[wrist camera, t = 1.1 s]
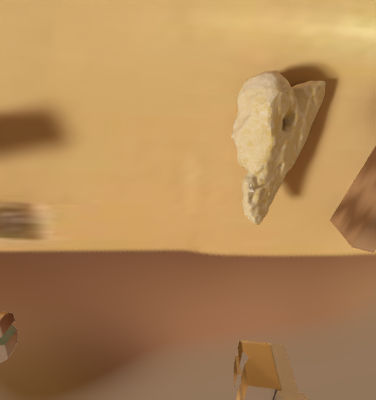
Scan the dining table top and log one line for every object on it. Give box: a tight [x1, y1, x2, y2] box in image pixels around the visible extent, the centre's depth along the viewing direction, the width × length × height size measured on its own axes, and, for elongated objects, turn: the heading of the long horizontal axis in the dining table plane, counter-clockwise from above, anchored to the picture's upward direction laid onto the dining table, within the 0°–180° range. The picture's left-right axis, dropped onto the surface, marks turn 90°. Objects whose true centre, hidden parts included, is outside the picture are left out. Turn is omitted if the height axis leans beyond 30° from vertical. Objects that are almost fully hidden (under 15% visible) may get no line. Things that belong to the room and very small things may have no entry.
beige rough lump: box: [231, 71, 326, 225], centre depth 32 cm, size 15×7×15 cm
